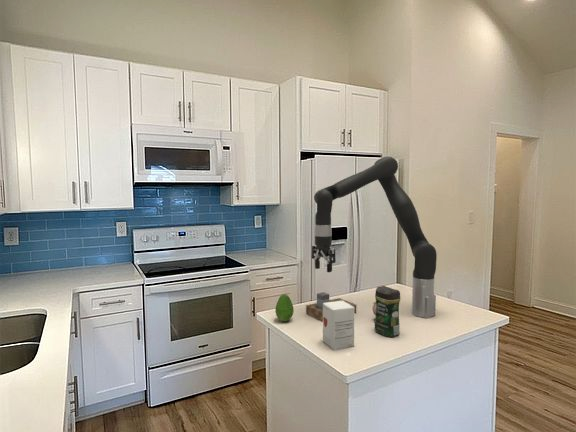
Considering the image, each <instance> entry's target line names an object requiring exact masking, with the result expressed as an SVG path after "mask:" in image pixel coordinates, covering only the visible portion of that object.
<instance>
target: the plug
mask: <svg viewBox="0 0 576 432" xmlns="http://www.w3.org/2000/svg"><path fill="white" fill-rule="evenodd" d="M329 300H330V294H329V293H327V292H319V293H316V303H317V308H319V309H322V310H323V303H326V302H329Z"/></svg>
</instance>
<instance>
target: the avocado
mask: <svg viewBox="0 0 576 432" xmlns="http://www.w3.org/2000/svg"><path fill="white" fill-rule="evenodd" d="M274 310H275V311H274V313H275V315H276V317H277V319H278V320H279V321H280V322H287V321H289V320H291V318H292V316H293V315H294V312H295V311H294V305H293V302H292V300H291V298H290V296H289V295H287V294H286V293H285V294H284V293H282V294H281V295H280V296H279V298H278V300H277V302H276V304H275V309H274Z"/></svg>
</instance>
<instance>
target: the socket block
mask: <svg viewBox="0 0 576 432" xmlns="http://www.w3.org/2000/svg"><path fill="white" fill-rule="evenodd" d="M342 300H343V301H344V302H346V303H348V304H350V305H351V306H353V307H354V308H355V311H354V315H355V314H357V304H356V303H353V302H352V301H351V302H350V301H348V300H345V299H343V298H334V299H333V298H332V299H329V302H335V301H342ZM305 307H306V308H305V313H306V315H307V316H310V317H312V318H314V319H316V320H317V321H320V322H322V323H323V310H322V309H319V308H317V302H315V303H311V304H307V305H305Z"/></svg>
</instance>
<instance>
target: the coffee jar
mask: <svg viewBox="0 0 576 432" xmlns="http://www.w3.org/2000/svg"><path fill="white" fill-rule="evenodd" d="M374 297H375V301H376V316H375V317H374V319H375V321H374V330H375V332H377V333H378V334H380V335H383V336H385V337H387V338H388V337H391V338H392V337H393V338H394V337H397V336H398V335H399V334H400V332H401V331H400V329H401V328H400V310H399V309H400V302H401V292H400V290H398V289H395V288H392V287H388V286H386V285H381V286H377V287H376V288H375V294H374Z"/></svg>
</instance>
